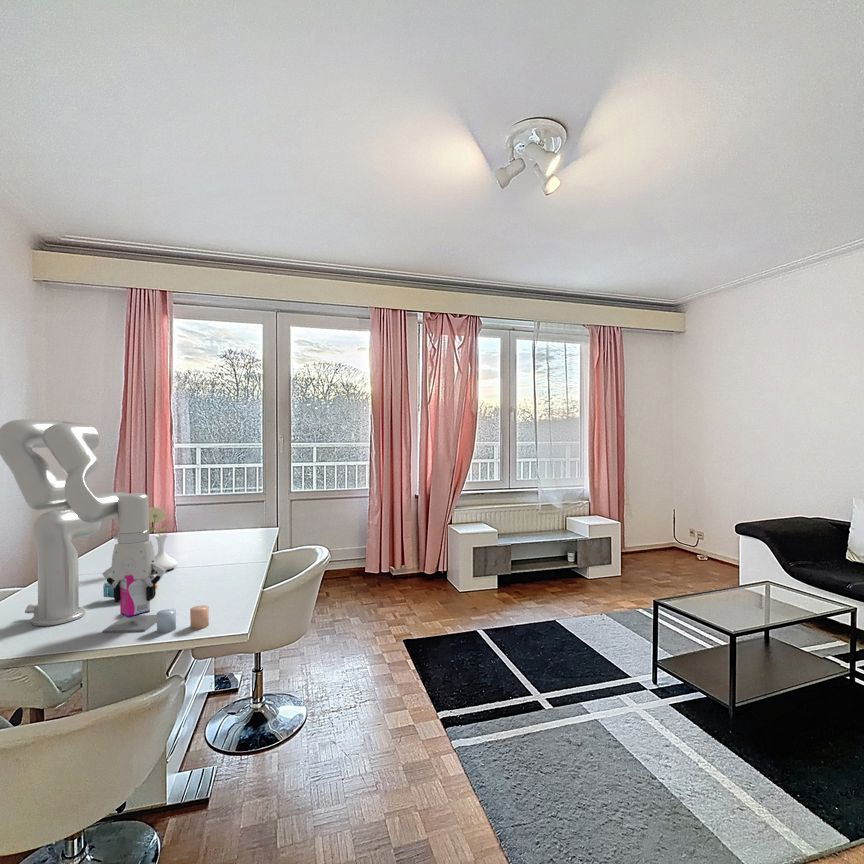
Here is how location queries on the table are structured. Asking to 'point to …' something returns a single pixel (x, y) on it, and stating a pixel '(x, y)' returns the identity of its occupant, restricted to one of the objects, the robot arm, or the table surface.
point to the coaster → (132, 624)
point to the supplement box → (133, 597)
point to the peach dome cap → (199, 617)
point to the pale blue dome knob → (166, 621)
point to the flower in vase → (161, 539)
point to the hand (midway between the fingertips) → (134, 599)
